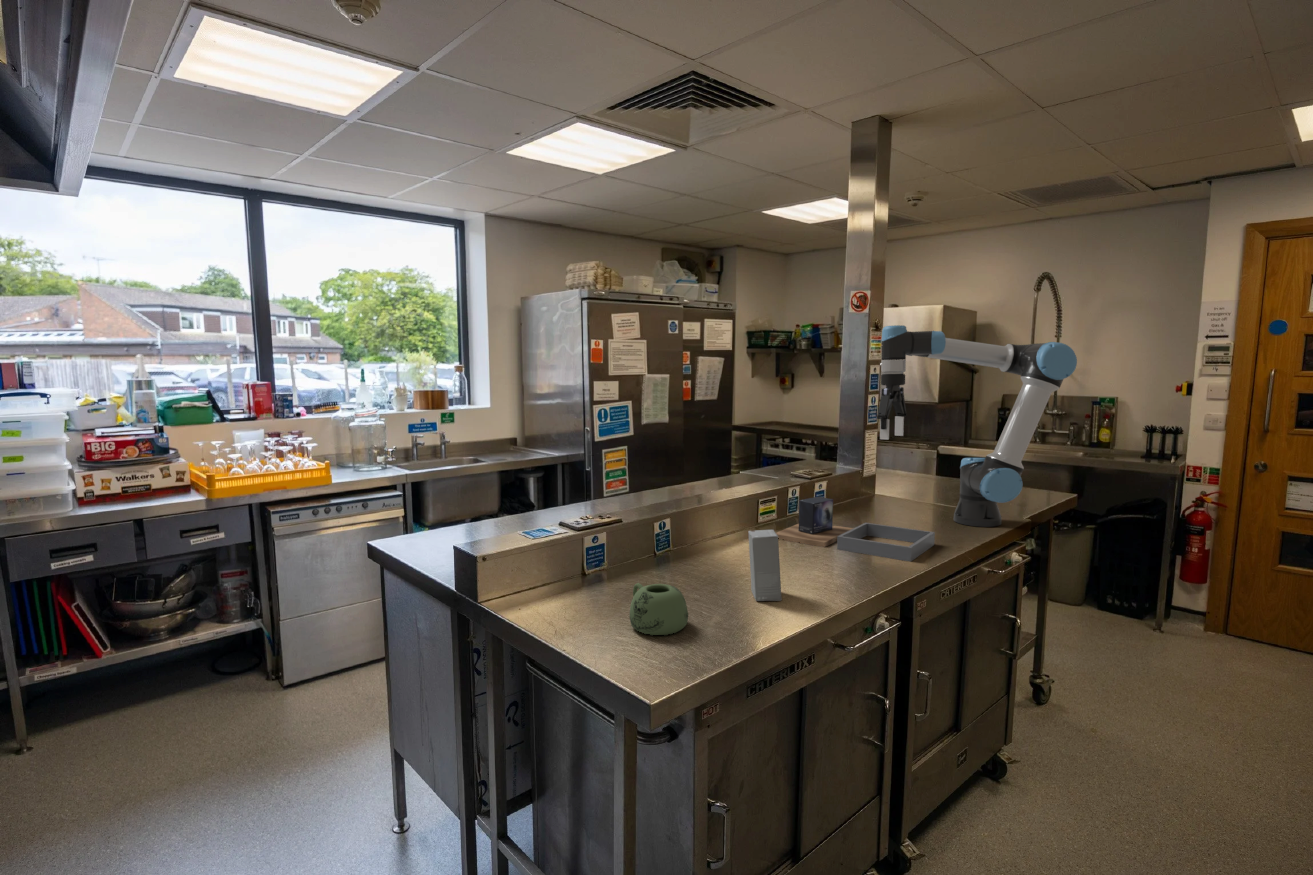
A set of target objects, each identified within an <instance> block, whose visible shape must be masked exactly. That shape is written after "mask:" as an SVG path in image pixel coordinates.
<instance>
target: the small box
mask: <svg viewBox="0 0 1313 875" xmlns="http://www.w3.org/2000/svg"><path fill="white" fill-rule="evenodd" d="M798 502H799V503H798V523H799V529H798V531H801V532H805V533H809V534H816V533H820V532H824V531H828V530H832V525H833V517H834V516H833V514H834V499H833V498H827V497H822V496H813V497H807V498H805V499H804V498H803V499H799V501H798Z"/></svg>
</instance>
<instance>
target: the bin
mask: <svg viewBox="0 0 1313 875" xmlns="http://www.w3.org/2000/svg"><path fill="white" fill-rule="evenodd" d="M852 528H853V529H851V530H849V531H847V532H845V533H843V534H841V535H839V536H837V541H836V543H837V544H836V550H840V551H846V552H852V553H856V554H864V555H869V556H876V557H880V558H887V559H894V560H899V561H904V562H905V561H906V562H912V561H914V560H915V559H916V558H918V557H919V556H921V555H922V554H923V553H925V552H927V551H928V550H930V549H931V548H932V547H933V546H935V538H936V537H935V535H936V534H935V533H936V532H935V531H929V530H922V529H921V530H920V529H914V528H908V527H901V526H893V525H887V524H886V525H885V524H878V523H872V522H871V523H870V522H864V523H862V524H859V525H857V526H855V527H852ZM867 536H868V537H873V538H874V537H875V538H880V539H881V538H882V539H888V540H893V539H894V540H895V541H901V542H908V543H909V542H910V543H912V544H910V545H909V546H906V545H901V544H894V543H888V542H881V541H875V540H868V539H863V538H865V537H867Z"/></svg>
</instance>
